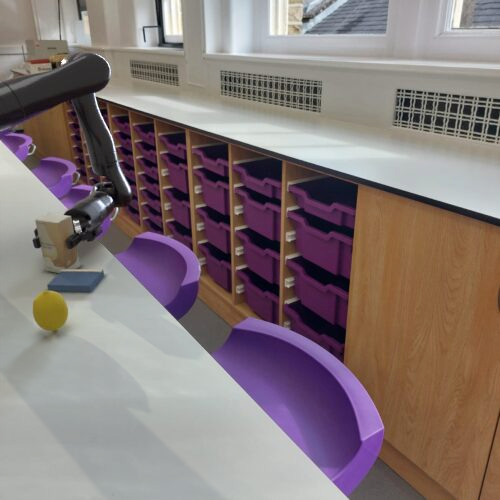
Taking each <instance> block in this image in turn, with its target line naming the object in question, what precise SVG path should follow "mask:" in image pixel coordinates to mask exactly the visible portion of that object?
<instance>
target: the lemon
mask: <svg viewBox="0 0 500 500" xmlns="http://www.w3.org/2000/svg"><path fill="white" fill-rule="evenodd" d="M32 316H33V319H34V321H35V323H36V324H37V326H39V327H40V328H41V329H42V330H45V331H52V332H57V331H58V330H59V329H60V328H62V327H63V326H65V324H66V322H67V320H68V317H69V307H68V305H67V302H66V300H65V298H64V297H63V296H62V294H60V293H59V292H58V291H49V290H48V289H45V290H43V291H41V292H40V293H39V294H38V295H37V296H35V298H34V300H33V302H32Z"/></svg>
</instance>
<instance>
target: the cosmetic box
mask: <svg viewBox="0 0 500 500" xmlns="http://www.w3.org/2000/svg"><path fill="white" fill-rule="evenodd" d="M34 222H35V225H36V228H37V231H38V236H39V240H40V245H41V247H40V249H41V254H42V260H43V262H44V268H45V271H46V272H52V273H57V274H59V273H60V270H61V269H79V268H80V267H81V263H80V257H79V253H78V245H77V246H75V247H74V248H72V249H68V248H67V243H66V240H67V239H68V238H69V237H70V236H71V235H72V234H74V230H73V224H72V219H71V216H67V215H64V214H60V213H50V212H48V213H46V214H43V215H41V216H39V217H38V218H35V220H34Z"/></svg>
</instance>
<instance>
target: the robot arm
mask: <svg viewBox="0 0 500 500" xmlns="http://www.w3.org/2000/svg"><path fill="white" fill-rule="evenodd" d="M111 76H112V70H111V66H110V64H109V62H108V61H107V60H106V58H104V57H103V56H101V55H100V54H97V53H95V52H91V51H77V52H70V53H68V54H66V55H65V56H64V57H63V59H62V60H61V63H60V66H58V67H56V68H53V69H49V70H46V71H43V72H37V73H30V74H25V75H21V76H20V75H18V76H16V77H11V78H8V79H5V80H1V81H0V132H2V131H3V132H4V131H5V130H8V129H11V128H13V127H15V126H18V125H20V124H22V123H25V122H27V121H29V120H30V119H33V118H35V117H37V116H39V115H42V114H44V113H46V112H48V111H50V110H52V109H53V108H55V107H57V106H60V105H61V104H64V103H66V102H69V101H71V104H72V106H73V109H74V111H75V114H76V116H77V119H78V122H79V125H80V129H81V131H82V134H83V138H84V142H85V145H86V149H87V154H88V158H89V161H90V165H91V169H92V173H94V174H95V175H96V176H100V177H104V178H107V179H108V180H109V181H101V182H98V183H95V184H94V185H92V187H91V190H90V192H89V194H88V195H87V196H86V197H85V198H83V199H80V200H79V201H78V202H76V203H75V204H74V205H72V206H71V207H69V208H68V209H67V210H66V211H65V212H64V213H63V215H67V216H71V219H72V224H73V230H74V234H72V235H71V236H70V237H69V238H68V239H67V240H66V243H67V248H68V249H72V248H74V247H75V246H77V247H78V245H79V244H81V243H85V241H86V243H87V242H88V243H91V242H93V241H94V240H95V239H97V238H98V237H99V236H100V235H101V234H103V226H102V224H103V223H104V222H105V220H106V219H107V218H108V217H110V215H111V214H112V213H113V212H114V209H115V208H126V207H129V206H130V205H131V203H132V200H133V191H132V188H131V184H130V183H129V181H128V179H127V178H126V176H125V174H124V171H123V169H122V168H121V165H120V162H119V157H118V153H117V148H116V145H115V141H114V138H113V135H112V133H111V131H110V129H109V128H108V125H107V124H106V121H105V119H104V117H103V115H102V113H101V110H100V108H99V105H98V100H97V95H96V93H99V92H101V91H102V90H104V89H105V88H106V87H107V86H108V84H109V83H110V80H111ZM33 232H34V238H32V239H31V240H32V244H33V247H34V249H41V245H40V240H39V236H38V231H37V227H36V228H34V229H33Z"/></svg>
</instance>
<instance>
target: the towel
mask: <svg viewBox="0 0 500 500" xmlns="http://www.w3.org/2000/svg"><path fill="white" fill-rule="evenodd" d="M104 277H105V272H104V269H85V268H84V269H79V268H77V269H61V270H60V273H57V275H56V276H54V278H52V279H51V281H49V282H48V283H47V285H46V286H47V290H48V291H55V292H61V293H62V292H68V293H92V292H93V290H95V288H96V287H97V285H98V284H99V283H100V282H101V280H102V279H103V278H104Z"/></svg>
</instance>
